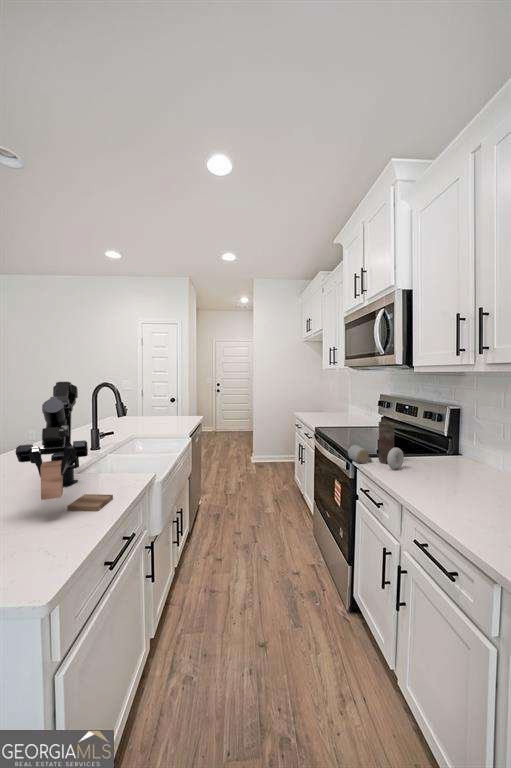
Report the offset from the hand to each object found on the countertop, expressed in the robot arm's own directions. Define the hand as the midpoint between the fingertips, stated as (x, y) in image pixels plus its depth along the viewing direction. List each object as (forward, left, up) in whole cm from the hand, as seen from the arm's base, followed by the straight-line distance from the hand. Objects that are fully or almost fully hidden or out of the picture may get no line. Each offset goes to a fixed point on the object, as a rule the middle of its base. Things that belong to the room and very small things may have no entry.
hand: (51, 475), depth 98 cm
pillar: (-1, -1, -7) cm, 7 cm away
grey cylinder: (-72, +110, -14) cm, 132 cm away
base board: (-12, +5, -13) cm, 19 cm away
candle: (-71, +122, -14) cm, 142 cm away
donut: (-59, +122, -14) cm, 136 cm away
